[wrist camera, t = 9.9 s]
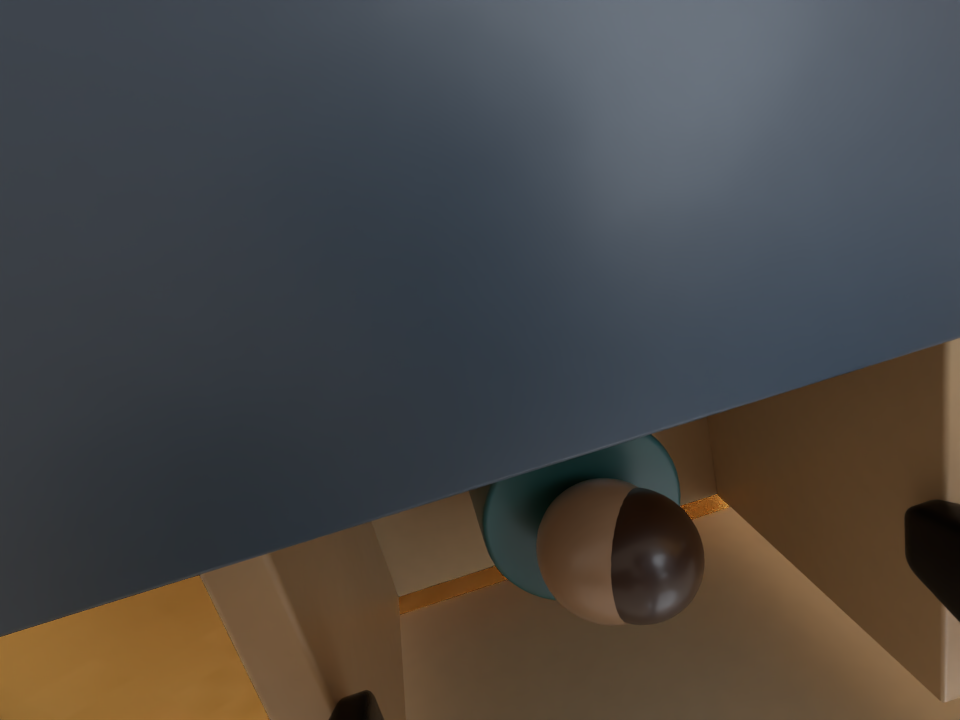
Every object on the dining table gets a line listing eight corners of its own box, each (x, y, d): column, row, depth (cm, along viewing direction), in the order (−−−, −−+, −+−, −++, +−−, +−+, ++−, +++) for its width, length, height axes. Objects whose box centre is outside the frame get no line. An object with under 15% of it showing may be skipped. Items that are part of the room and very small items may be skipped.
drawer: (757, 567, 18) (1028, 843, 10) (383, 693, 17) (391, 1095, 9) (695, 21, 13) (1112, -178, 6) (169, 153, 12) (-145, 119, 5)
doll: (590, 335, 14) (749, 452, 8) (616, 472, 15) (772, 661, 9) (436, 379, 13) (484, 536, 8) (475, 516, 14) (543, 742, 9)
